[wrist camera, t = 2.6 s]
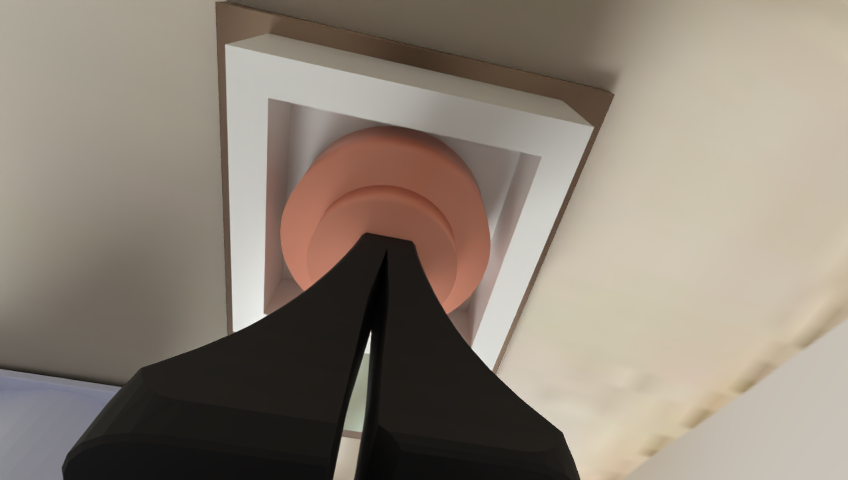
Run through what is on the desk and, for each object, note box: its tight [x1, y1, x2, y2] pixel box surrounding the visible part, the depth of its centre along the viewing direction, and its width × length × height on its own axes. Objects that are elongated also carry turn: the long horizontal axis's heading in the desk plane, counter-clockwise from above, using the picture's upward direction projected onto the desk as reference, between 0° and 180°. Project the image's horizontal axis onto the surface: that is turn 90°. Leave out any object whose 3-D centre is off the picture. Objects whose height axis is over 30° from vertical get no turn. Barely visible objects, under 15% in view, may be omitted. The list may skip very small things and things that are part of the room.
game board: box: [216, 1, 614, 480], centre depth 21 cm, size 12×33×1 cm, turn 168°
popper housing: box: [225, 34, 594, 371], centre depth 14 cm, size 9×9×3 cm
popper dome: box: [280, 126, 491, 314], centre depth 13 cm, size 6×6×3 cm
